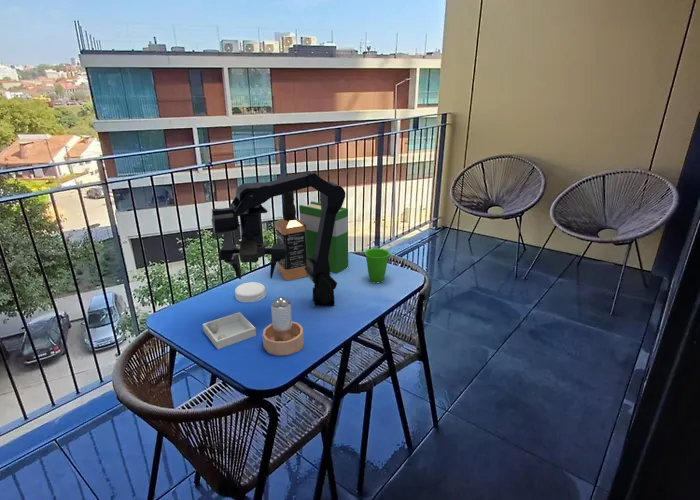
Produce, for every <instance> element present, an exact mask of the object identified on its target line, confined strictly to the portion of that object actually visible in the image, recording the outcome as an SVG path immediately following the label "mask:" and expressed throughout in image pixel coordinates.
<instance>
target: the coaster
mask: <svg viewBox="0 0 700 500" xmlns="http://www.w3.org/2000/svg"><path fill="white" fill-rule="evenodd" d="M234 293H235V294H234V296H235V297H234V299H236V301H238V302H241V303H253V302H258V301H260V300H262V299H265V298H266V287H265V285H264V284H262V283H260V282H257V281H255V282H253V281H251V282H244V283H241V284H239V285H238V286H237V287H235V289H234Z"/></svg>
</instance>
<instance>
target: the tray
mask: <svg viewBox="0 0 700 500" xmlns="http://www.w3.org/2000/svg"><path fill="white" fill-rule="evenodd" d="M212 324H216V325H217V326H218V330H217V331H216V332H214V333H212V332H211V331H210V329H209V327H210V326H211V325H212ZM256 329H257V328H256V327H255V326H254V325H253V324H252V323H251V322H250V321H249V320H248V319H247V318H246V317H245V316H244V315H243V314H242V312H241V311H238V312H235V313H232V314H229V315H228V314H227V315H226V316H221V317H220V318H216V319H214V320H213V319H212V320H210V321H207V322H204V323H202V330H203V332H204V333H205V335H206V337H207V338H208V339H209V340H210V342H211V343H212V345H214V346H215V348H216V350H220V349H222V348H225V347H229V346H231V345H234V344H237V343H239V342H243V341H245V340H248V339H250V338H253V337H256V336H257V330H256ZM222 334H223V335H225V336H226V337H225V338H222V339H220V340H218V337H219V335H222Z"/></svg>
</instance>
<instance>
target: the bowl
mask: <svg viewBox="0 0 700 500" xmlns="http://www.w3.org/2000/svg"><path fill="white" fill-rule="evenodd" d="M292 327H293V339H291V340H288V341H274V334H273V323H270V324H269V325H267V326H266V327H264V329H263V332H262V343H263V349H264V350H265V351H266V352H267V353H268V354H270V355H271V354H272V355H274V356H288V355H289V356H290V355H291V354H294V353H299V352H300V351H301V350H302V349H303V348H304V339H305V338H304V327H303V326H302V325H301V324H300V323H299V322H296V321H292Z"/></svg>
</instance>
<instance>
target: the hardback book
mask: <svg viewBox="0 0 700 500" xmlns="http://www.w3.org/2000/svg"><path fill="white" fill-rule="evenodd" d="M298 206H299V207H298V208H299V209H298V211H299V220H300V221H301V222H303V223H304V224H305V225H306V231H305V235H306V249H307V258H310V259H311V257H312V256H313V255H314V251H315V245H316V240H317V234H318V228H319V223H320V217H321V204H320V202H316V201H310V203H309V204H306V205H303V204H299V205H298ZM328 260H329V265H330V273H333V274H335V275H338V274H339V273H341V272H343V271H345V270H346V268H347V267H348V268H349V208H346V207H343V206H342V207H341V209H340V210H339V211H338V213H337V215H336V219H335V224H334V230H333V235H332V240H331V246H330V251H329V256H328ZM348 268H347V269H348ZM344 269H345V270H344Z"/></svg>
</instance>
